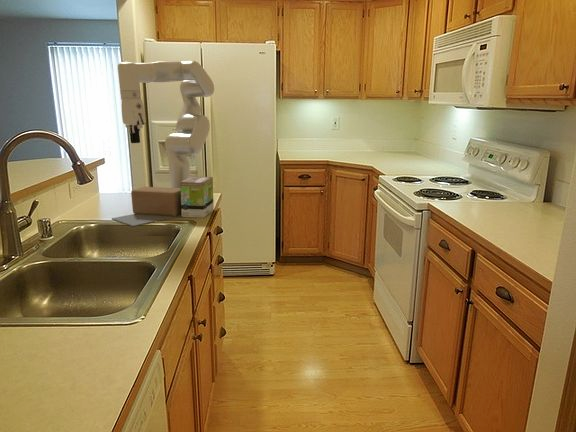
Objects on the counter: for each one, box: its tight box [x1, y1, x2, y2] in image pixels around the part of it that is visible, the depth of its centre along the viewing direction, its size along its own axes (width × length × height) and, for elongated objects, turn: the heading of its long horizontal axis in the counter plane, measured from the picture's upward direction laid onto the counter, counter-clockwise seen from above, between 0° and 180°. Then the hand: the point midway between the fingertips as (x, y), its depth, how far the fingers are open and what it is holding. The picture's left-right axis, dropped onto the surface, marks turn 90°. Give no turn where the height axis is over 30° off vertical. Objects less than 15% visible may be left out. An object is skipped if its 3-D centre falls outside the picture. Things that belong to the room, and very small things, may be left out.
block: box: [130, 186, 182, 216], centre depth 182 cm, size 10×10×20 cm
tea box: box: [180, 176, 215, 219], centre depth 182 cm, size 15×10×15 cm, turn 175°
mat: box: [111, 213, 182, 227], centre depth 177 cm, size 22×16×1 cm
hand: (135, 142), depth 176 cm, fingers closed
